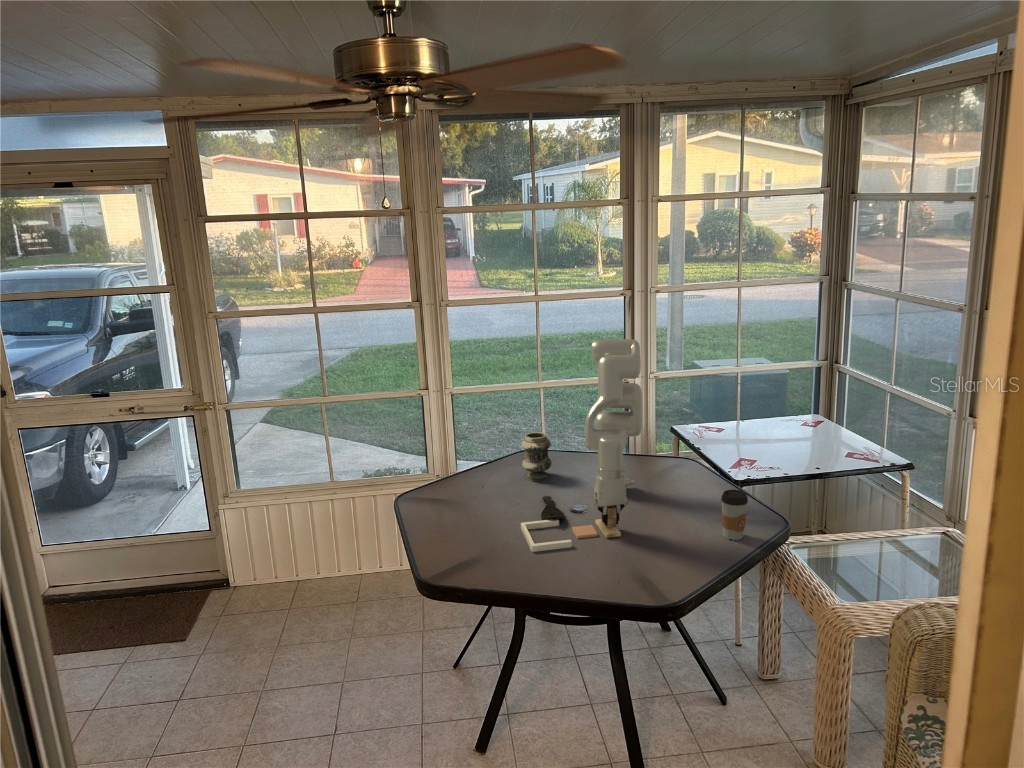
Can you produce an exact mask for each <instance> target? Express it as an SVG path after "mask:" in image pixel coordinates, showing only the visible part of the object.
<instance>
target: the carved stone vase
mask: <svg viewBox="0 0 1024 768" xmlns="http://www.w3.org/2000/svg"><path fill="white" fill-rule="evenodd" d="M524 437H525V438H524V440H522V441H521V447H522V449H524V459H523V461H522V462H521V463H522V464H521V466H522V468H523V469H524V470H525V471H527V473H526V474H525V475H524V476H525V478H526V479H527V480H528V481H532V482H538V481H539V482H540V481H545V480H547V479H549V478H550V474H549V473H548V472H547V470H549V469H550V468H551V467H552V465H553V464H552V459H550V457H549V448H550V447H551V445H552V444H551V443H552V442H551V440H549V438H547V434H546V433H544V432H542V431H541V432H540V431H534V432H528V433H526V434H525V436H524Z"/></svg>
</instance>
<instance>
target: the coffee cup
mask: <svg viewBox="0 0 1024 768" xmlns="http://www.w3.org/2000/svg"><path fill="white" fill-rule="evenodd" d="M748 500H749V498H748V496H747V493H746V492H745V491H742V490H739V489H726V490H724V491H722V495H721V523H722V535H723V537H724V536H725V537H726V538H728V539H732V540H731V541H734V540H736V541H739V540H738V539H741V538H742V539H743V538H744V533H745V527H746V518H747V507H748V503H749V501H748ZM725 537H724V538H725ZM726 538H725V539H726ZM728 539H727V540H728ZM742 539H741V540H742Z"/></svg>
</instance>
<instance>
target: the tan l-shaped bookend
mask: <svg viewBox="0 0 1024 768" xmlns="http://www.w3.org/2000/svg"><path fill="white" fill-rule="evenodd" d="M607 515H608V525H607V526H606V525H605V524H604V523H603V522H602V518H599V519H598V518H597V519H594V522H595V524H596V526H597V527H598V528H599V530H600V531H601V533H602V534H603V535H604V537H605V538H606V539H608V538H609V539H610V538H617V537H621V536H622V532H621V531H620V530H619V528H618V527H617V525H616V507H615V506H614V505H613V506H607Z"/></svg>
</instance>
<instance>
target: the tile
mask: <svg viewBox="0 0 1024 768" xmlns="http://www.w3.org/2000/svg"><path fill="white" fill-rule="evenodd" d="M571 530H572V531H573V534H574V535H575V538H576V539H578V540H579V539H585V538H586V539H589V538H596V537H598V535H599V534H598V532H597V530H596V529H595V527H594V525H592V524H588V525H580V526H579V525H577V526H572V527H571Z"/></svg>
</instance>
